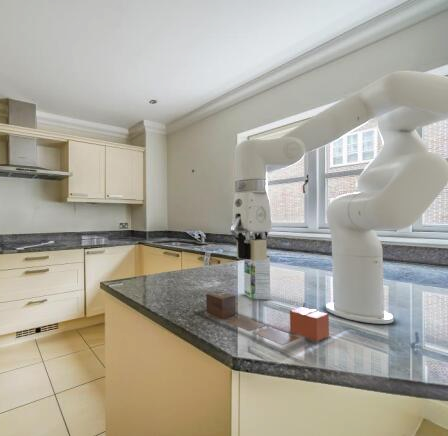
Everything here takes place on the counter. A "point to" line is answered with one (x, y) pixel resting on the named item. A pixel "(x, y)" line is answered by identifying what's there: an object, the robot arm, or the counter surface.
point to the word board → (266, 333)
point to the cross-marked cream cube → (257, 249)
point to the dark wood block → (220, 304)
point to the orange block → (309, 323)
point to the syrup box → (257, 278)
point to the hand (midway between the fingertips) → (251, 257)
